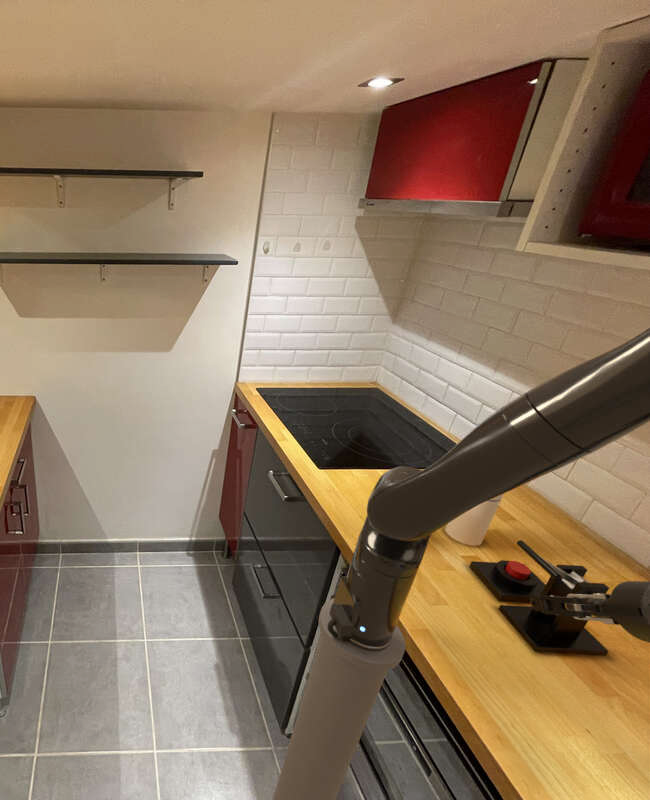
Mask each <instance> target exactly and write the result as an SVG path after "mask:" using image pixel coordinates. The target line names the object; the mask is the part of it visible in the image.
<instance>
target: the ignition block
mask: <svg viewBox="0 0 650 800" xmlns="http://www.w3.org/2000/svg"><path fill="white" fill-rule="evenodd" d="M509 561H510V560H506V559H505V560H502V559H500V560H499V561H497V562H492V561H475V560H473V561H472V560H471V562H470V564H469V565H468V568H469V569H470V570H471V571H472V572H473V574H474V575H475V576H476V577H477V578H478V579H479V580H480V581H481V583H482V584H483V586H485V587H486V588H487V590H488V591H489V592H490V593H491V594H492V595H493V596H494V597H495V599H496V600H497V601H498V602H510V603H511V602H512V603H528V604H529V603H530V604H531V602H530V596H540V594H541V593H542V591H543V589H544V587H545V585H546V584H547V583H546V584H545V582H543V580H542V579H540V577H539V576H538V575H536V574H535V573H534V572H533V571H532V570H531V569H530V571H531V573H530V575H529V577H528V579H527V580H520V579H517V578H515V577H513V576H511V575H510V574H508V573H507V572H506V571H505V568H506V566H507V564H508V562H509ZM523 564H524V565H526V564H525V563H523Z"/></svg>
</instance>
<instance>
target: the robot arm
mask: <svg viewBox="0 0 650 800" xmlns="http://www.w3.org/2000/svg"><path fill="white" fill-rule="evenodd" d="M649 423H650V327H648V328H647V329H645V330H644V331H642V332H641V333H639V334H637V335H636V336H634V337H632V338H631V339H629V340H627V341H626V342H624V343H622V344H621V345H619V346H617V347H615V348H612V349H611V350H608V351H607V352H603V353H602V354H600V355H598V356H595V357H593V358H591V359H588V360H586V361H584V362H582V363H580V364H577V365H576V366H573V367H571V368H570V369H567V370H565V371H563V372H561V373H559V374H557V375H555V376H553V377H551V378H550V379H548V380H546V381H544V382H542V383H540V384H539V385H536V386H535V387H533V388H531V389H529V390H528V391H526V392H525V393H523V394H521V395H520V396H518V397H517V398H515V399H513V400H511V401H510V402H508V403H507V404H505V405H503V406H502V407H500V408H499V409H497V410H495V411H494V412H493V413H491V414H490V415H488V416H487V417H486V418H484V419H483V420H482V421H481V422H480V423H478V425H476V426H475V427H474V428H473V429H472V430H471V431H470V432H469V433H467V434H466V435H465V436H464V437H463V438H462V439H460V441H458V442H457V443H456V444H455V445H454V446H453V447H452V448H451V449H450V450H449V451H448V452H446V453H445V454H444V455H443V456H442V457H441V458H440V459H438V460H437V461H435V462H434V463H432V464H431V465H429V466H428V467H426V468H424V469H421V468H417V467H414V466H397V467H394V468H390V469H388V470H386V471H385V472H384V473H383V474H381V476H380V477H379V478H378V480H377V482H376V484H375V486H374V487H373V488H372V491H371V493H370V494H369V496H368V498H367V504H366V518H365V520H364V522H363V525H362V527H361V529H360V533H359V535H358V537H357V541H356V545H355V548H354V552H353V554H352V558H351V561H350V564H349V568H348V571H347V573H346V576H343V575H342V576H341V577H340V578H339V582H338V585H337V589H336V593H335V595H334V598H335V599H334V602H333V604H332V606H331V609H330V613H329V614H330V616H331V618H332V619H331V620H330V621H329V623H328V631H329V632H330V633H331V634H332V635H333V637H334V638H337V637H338V634H339V636H341V638H342V640H343V641H344V642H350V643H352V644H353V645H355V646H357V647H359V648H362V649H365V650H369V651H381V650H384V649H386V648H387V647H388V646H389V644H390V642H391V639H392V635H393V632H394V630H395V627H396V625H398V622H399V619H400V616H401V614H402V613H403V612H402V611H403V609H404V607H405V604H406V602H407V599H408V596H409V594H410V591H411V588H412V586H413V584H414V581H415V578H416V577H417V574H418V571H419V569H420V566H421V564H422V562H423V559H424V556H425V553H426V550H427V548H428V545H429V542H430V539H431V536H432V535H433V534H434V533H436V532H437V531H439V530H440V529H441V528H443V527H444V526H445V527H446V526H447V524H448V523H449V522H451V521H452V520H454V519H456V518H457V517H459V516H460V515H462V514H464V513H465V512H467V511H469V510H470V509H472V508H474V507H476V506H478V505H479V504H481V503H483V502H486V501H488V500H490V499H492V498H495V497H497V496H499V495H502V494H504V495H505V494H507V493H508V492H510V491H513V490H515V489H516V488H519V487H521V486H524V485H527V484H528V483H530V482H533V481H534V480H537V479H538V478H540V477H543V476H545V475H548V474H550V473H552V472H555V471H557V470H560V469H561V468H563V467H566V466H569V465H570V464H572V463H574V462H576V461H578V460H581V459H583V458H585V457H587V456H589V455H591V454H593V453H596V452H598V451H599V450H601V449H602V448H604V447H606V446H608V445H610V444H612V443H614V442H615V441H618V440H620V439H622V438H624V437H625V436H627V435H630V434H631V433H633V432H634V431H636V430H638V429H639V428H641V427H643V426H645V425H647V424H649ZM581 598H587V599H586V600H585V601H584V604H583V603H582V600H581ZM530 602H531V603H530V605H531V606H530V607H532V608H533V610H535V611H542V612H543V613H545V614H546V615H551V614H554V615H563V616H573V618H575V619H578V620H589V621H591V622H600V623H602V624H605V625H614V626H621V628H623V630H624V631H626V632H627V633H628V634H629V635H630V636H632V637H634V638H636V639H638V640H639V641H642V642H645V643H650V581H647V580H646V581H643V580H641V581H639V580H627V581H622V582H621V583H618V584H617V585H616V586H615V587H614V588H613V589H612V591H611V593H606V594H599V593H595V594H593V595H583V594H568V595H567V597H555V596H554V595H550V596H546V595H541V596H530ZM585 612H587V613H588V614H590V615H592V616H586V613H585ZM334 625H335V627H336V630H337V632H338V634H337V633H336V632H335V631H334V629H333V626H334Z"/></svg>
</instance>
